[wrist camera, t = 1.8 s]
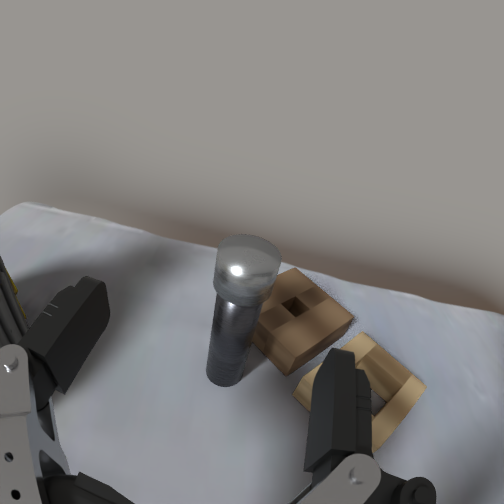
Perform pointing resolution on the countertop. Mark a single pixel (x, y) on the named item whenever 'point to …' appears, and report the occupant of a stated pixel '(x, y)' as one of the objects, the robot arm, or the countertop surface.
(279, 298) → the walnut block
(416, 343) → the countertop surface
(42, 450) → the robot arm
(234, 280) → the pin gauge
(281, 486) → the countertop surface
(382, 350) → the oak block
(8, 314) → the decorative lamp
